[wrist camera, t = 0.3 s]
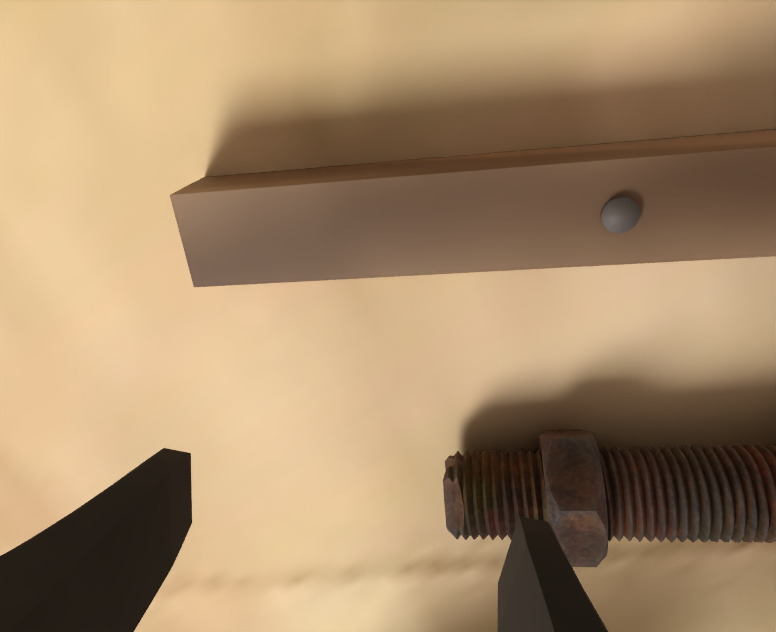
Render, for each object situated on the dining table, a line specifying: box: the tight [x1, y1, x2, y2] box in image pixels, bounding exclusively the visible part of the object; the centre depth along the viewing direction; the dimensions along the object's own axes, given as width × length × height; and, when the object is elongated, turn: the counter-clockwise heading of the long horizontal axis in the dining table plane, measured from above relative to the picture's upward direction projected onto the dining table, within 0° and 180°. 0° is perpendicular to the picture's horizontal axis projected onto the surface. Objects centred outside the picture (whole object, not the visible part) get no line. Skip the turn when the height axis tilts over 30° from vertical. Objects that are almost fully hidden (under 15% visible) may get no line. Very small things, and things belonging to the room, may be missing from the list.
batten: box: [170, 129, 776, 287], centre depth 17 cm, size 3×26×3 cm, turn 96°
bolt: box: [443, 430, 776, 567], centre depth 20 cm, size 6×5×15 cm
